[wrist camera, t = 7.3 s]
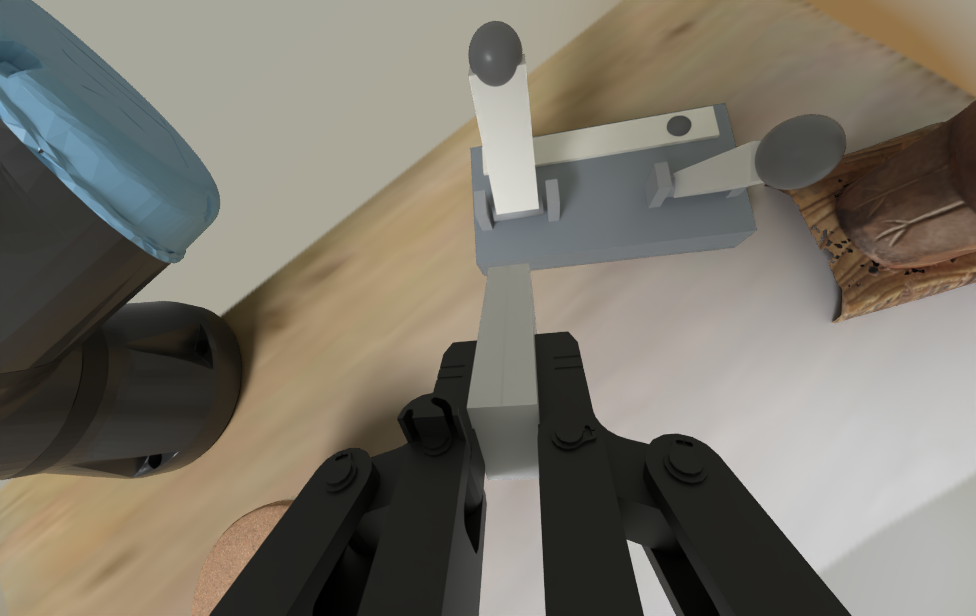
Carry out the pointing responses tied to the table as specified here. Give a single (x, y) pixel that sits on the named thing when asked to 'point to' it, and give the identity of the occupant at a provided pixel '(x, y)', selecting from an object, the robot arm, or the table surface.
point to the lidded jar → (235, 554)
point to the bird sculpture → (900, 216)
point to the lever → (769, 159)
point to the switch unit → (615, 195)
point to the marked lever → (504, 120)
